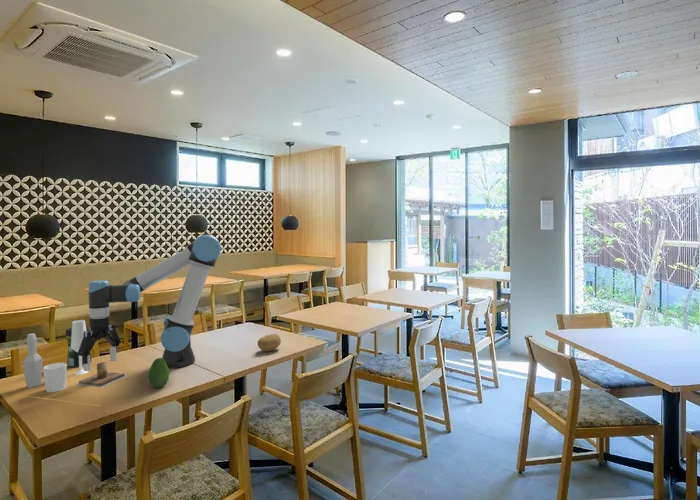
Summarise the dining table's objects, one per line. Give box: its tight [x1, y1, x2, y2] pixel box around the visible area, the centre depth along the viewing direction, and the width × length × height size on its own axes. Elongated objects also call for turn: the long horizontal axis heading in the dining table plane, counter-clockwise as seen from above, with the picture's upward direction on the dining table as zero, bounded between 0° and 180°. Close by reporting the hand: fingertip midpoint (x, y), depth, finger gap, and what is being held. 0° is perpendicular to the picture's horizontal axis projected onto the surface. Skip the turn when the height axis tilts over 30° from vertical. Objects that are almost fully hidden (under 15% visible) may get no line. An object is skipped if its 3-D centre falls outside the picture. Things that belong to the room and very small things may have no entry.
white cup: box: [42, 362, 68, 393], centre depth 172 cm, size 8×8×10 cm
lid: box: [78, 362, 126, 386], centre depth 182 cm, size 12×12×7 cm
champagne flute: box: [71, 319, 89, 376], centre depth 190 cm, size 7×7×24 cm
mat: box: [76, 374, 128, 388], centre depth 182 cm, size 14×14×1 cm
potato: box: [257, 333, 282, 352], centre depth 223 cm, size 10×14×8 cm
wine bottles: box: [65, 325, 92, 368], centre depth 203 cm, size 10×8×19 cm
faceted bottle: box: [22, 333, 43, 389], centre depth 176 cm, size 6×6×22 cm
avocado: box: [147, 357, 170, 388], centre depth 174 cm, size 8×8×12 cm
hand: (100, 365), depth 181 cm, fingers open, 13 cm apart
